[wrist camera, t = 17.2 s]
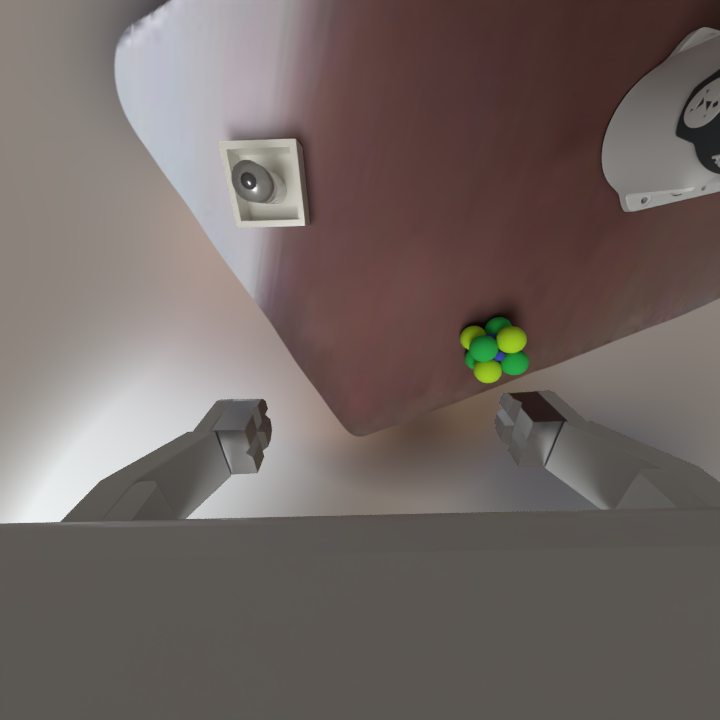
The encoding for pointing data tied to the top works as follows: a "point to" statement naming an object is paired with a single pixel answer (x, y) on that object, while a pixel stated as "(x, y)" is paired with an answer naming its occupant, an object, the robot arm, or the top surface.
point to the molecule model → (495, 349)
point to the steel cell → (258, 183)
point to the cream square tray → (280, 160)
